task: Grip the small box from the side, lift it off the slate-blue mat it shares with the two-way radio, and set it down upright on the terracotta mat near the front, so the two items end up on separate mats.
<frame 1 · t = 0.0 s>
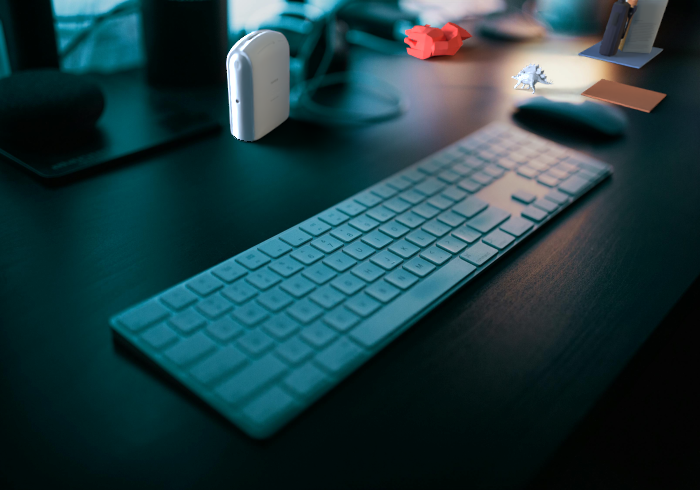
photo printer: (261, 129, 78), on the table
animal figurine: (435, 52, 114), on the table
stegosaurus: (529, 92, 97), on the table
two-way radio: (609, 55, 119), resting on slate mat
slate mat: (621, 52, 122), on the table
small box: (627, 48, 125), resting on slate mat
terracotta mat: (623, 95, 99), on the table
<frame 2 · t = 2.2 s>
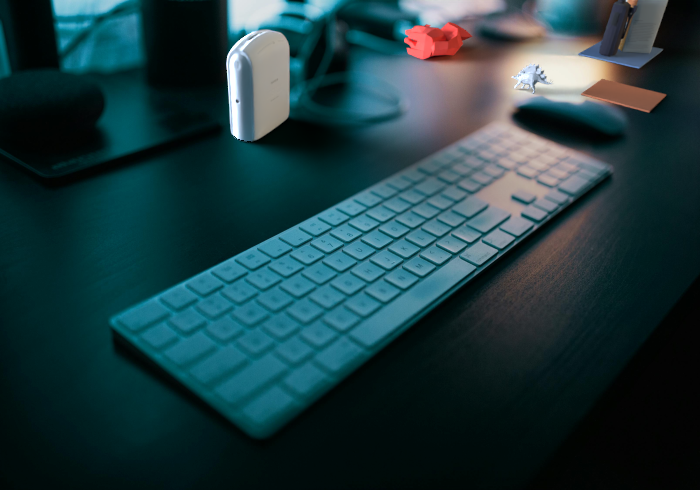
nothing on the table moved.
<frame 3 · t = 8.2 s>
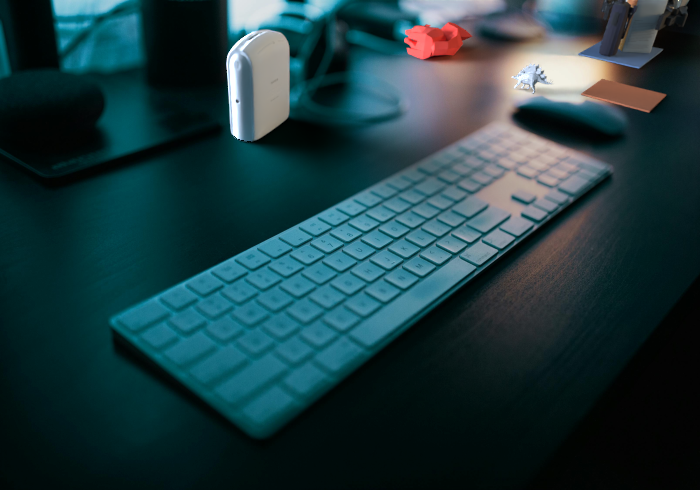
hand: (632, 17, 118), 7 cm above the table, tool horizontal, fingers closed on small box, 10 cm apart
small box: (627, 48, 125), resting on slate mat, touching gripper
everything else where it was.
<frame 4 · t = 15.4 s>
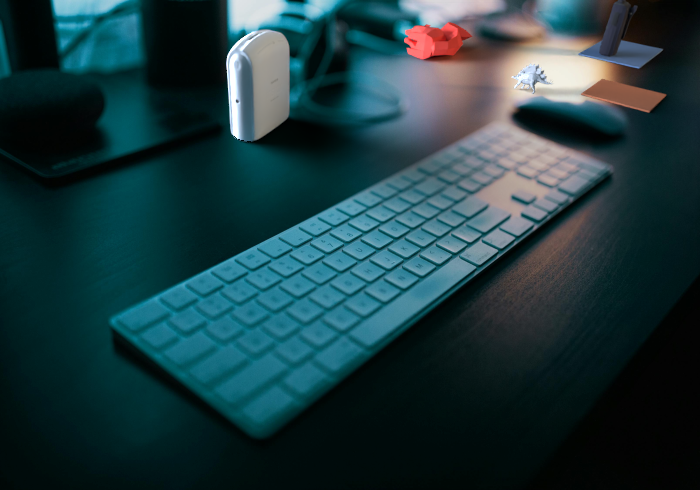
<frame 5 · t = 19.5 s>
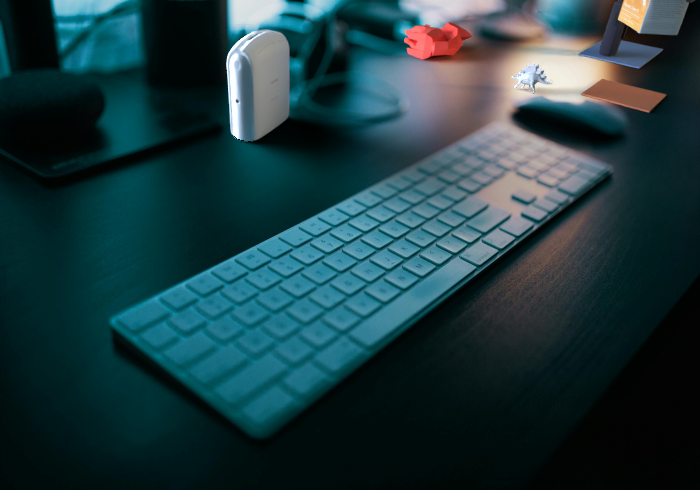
small box: (645, 29, 92), point 11 cm above the table, touching gripper
everything else where it was.
when the fingers open (7 cm above the table, at t = 22.9 s): small box stays where it is, resting on terracotta mat.
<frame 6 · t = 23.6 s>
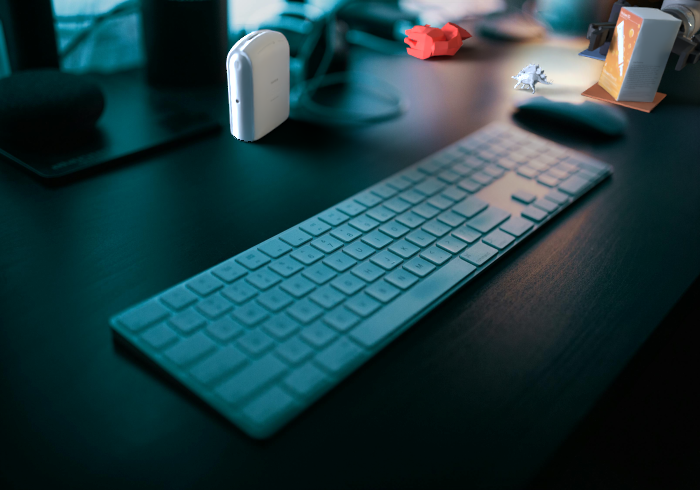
hand: (634, 51, 92), 8 cm above the table, tool horizontal, fingers open, 13 cm apart
small box: (623, 94, 98), resting on terracotta mat
everything else where it was.
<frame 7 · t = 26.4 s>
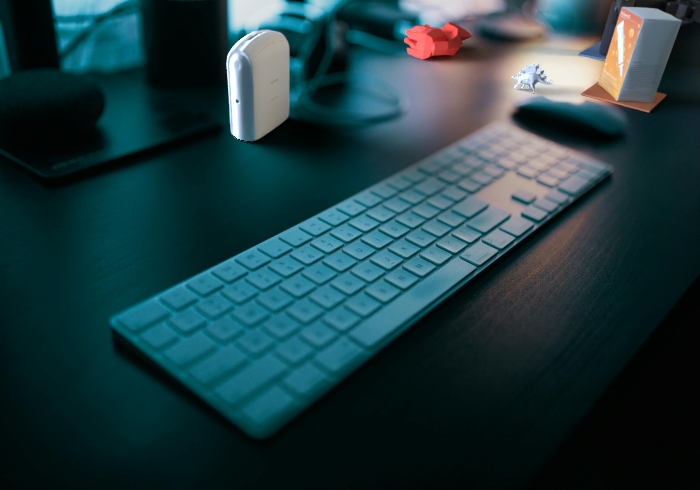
hand: (661, 19, 99), 11 cm above the table, tool horizontal, fingers open, 13 cm apart
nothing on the table moved.
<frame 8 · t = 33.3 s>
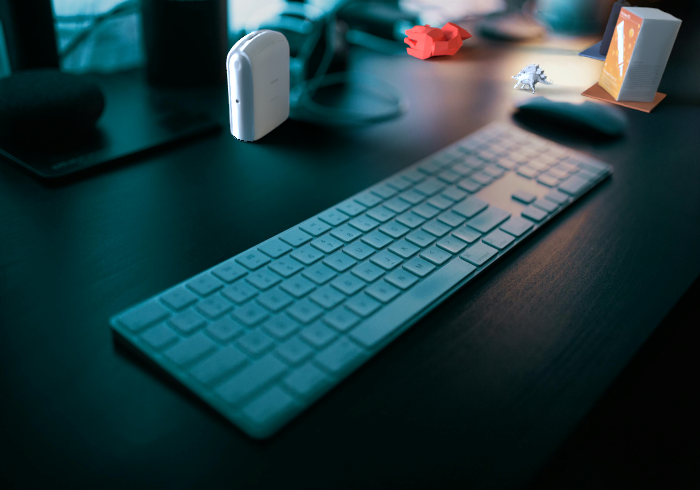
nothing on the table moved.
at the end: small box inside the target area on the terracotta mat (0.1 cm from its centre), point 0.1 cm above the terracotta mat's base; small box tilted 0°; two-way radio moved 0.1 cm from its start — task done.
